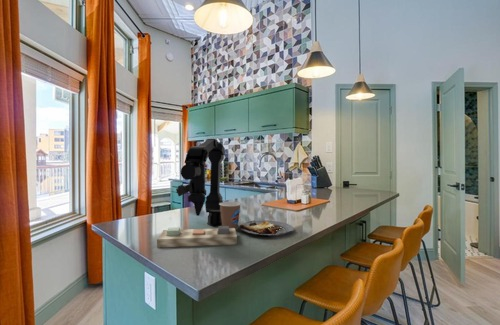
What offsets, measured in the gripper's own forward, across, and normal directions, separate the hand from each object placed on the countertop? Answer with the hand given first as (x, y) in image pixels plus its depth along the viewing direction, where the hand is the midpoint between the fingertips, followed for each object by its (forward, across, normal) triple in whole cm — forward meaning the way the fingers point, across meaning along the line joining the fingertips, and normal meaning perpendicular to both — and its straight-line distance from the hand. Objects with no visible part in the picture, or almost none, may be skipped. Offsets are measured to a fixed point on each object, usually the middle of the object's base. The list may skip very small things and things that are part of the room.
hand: (197, 215), depth 103 cm
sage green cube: (+8, +1, -10) cm, 13 cm away
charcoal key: (+8, +1, +11) cm, 14 cm away
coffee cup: (+10, -14, +14) cm, 23 cm away
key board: (+10, +1, 0) cm, 10 cm away
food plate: (+11, -10, +30) cm, 34 cm away
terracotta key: (+10, +1, +1) cm, 10 cm away
